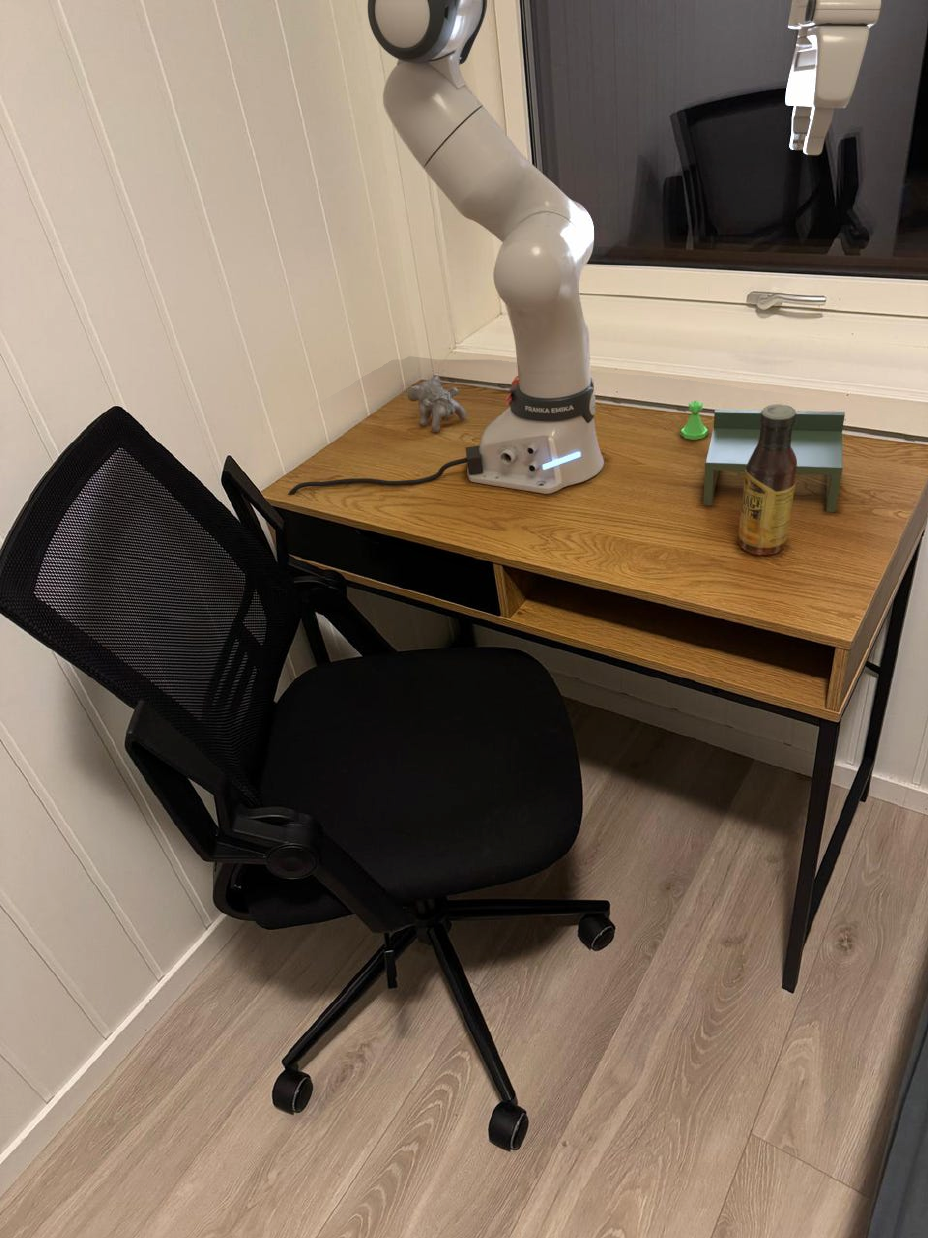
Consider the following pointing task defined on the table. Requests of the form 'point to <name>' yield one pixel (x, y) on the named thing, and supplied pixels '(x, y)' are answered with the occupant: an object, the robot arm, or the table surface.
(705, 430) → the game piece
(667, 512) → the table surface
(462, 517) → the table surface
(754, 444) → the shelf
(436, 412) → the gray elephant figurine
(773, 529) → the sauce bottle
